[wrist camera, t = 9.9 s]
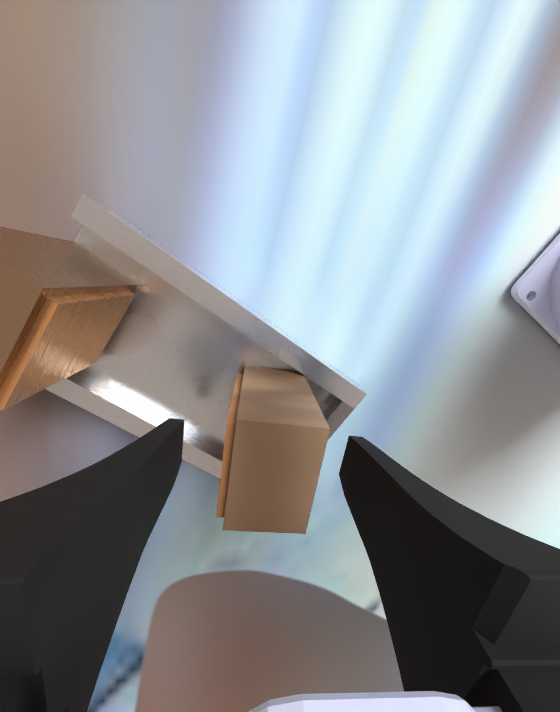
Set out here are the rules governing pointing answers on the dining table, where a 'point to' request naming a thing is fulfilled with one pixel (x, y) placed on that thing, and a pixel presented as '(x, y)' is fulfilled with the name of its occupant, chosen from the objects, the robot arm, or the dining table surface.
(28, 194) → the dining table surface
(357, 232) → the dining table surface
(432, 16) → the dining table surface
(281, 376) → the tan cardboard box
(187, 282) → the rail
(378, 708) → the robot arm
